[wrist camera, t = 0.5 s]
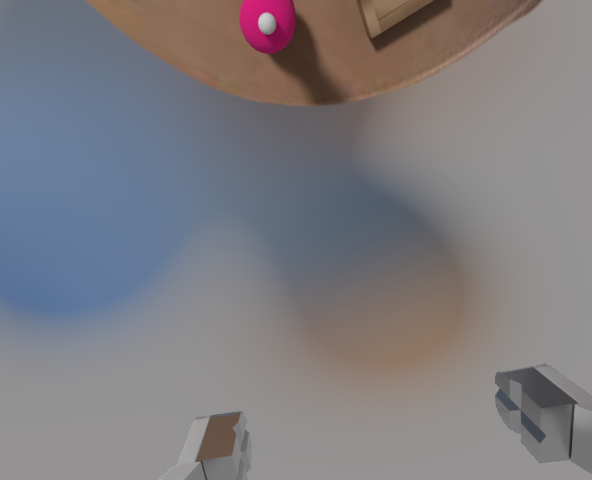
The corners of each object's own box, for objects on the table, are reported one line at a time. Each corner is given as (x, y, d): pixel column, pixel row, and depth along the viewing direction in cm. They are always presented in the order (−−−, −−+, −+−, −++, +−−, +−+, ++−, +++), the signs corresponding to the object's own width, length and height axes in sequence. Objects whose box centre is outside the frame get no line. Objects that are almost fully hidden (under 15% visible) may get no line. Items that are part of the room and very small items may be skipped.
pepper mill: (302, 4, 44) (318, 11, 29) (277, 52, 48) (279, 81, 32) (260, -33, 41) (251, -47, 26) (236, 21, 45) (216, 37, 30)
